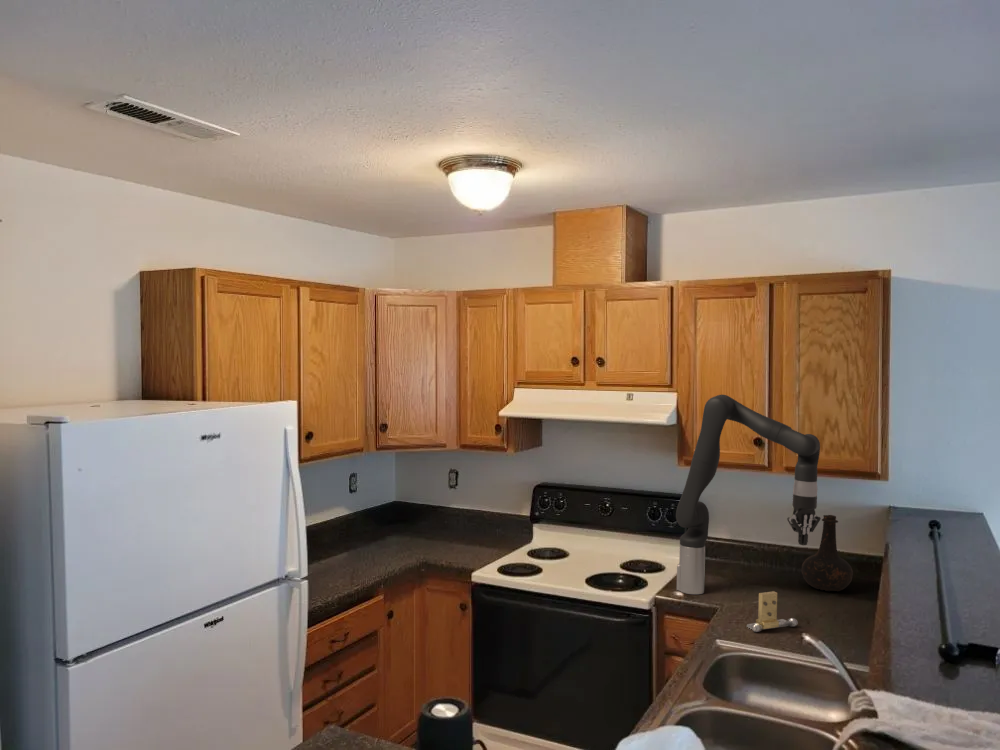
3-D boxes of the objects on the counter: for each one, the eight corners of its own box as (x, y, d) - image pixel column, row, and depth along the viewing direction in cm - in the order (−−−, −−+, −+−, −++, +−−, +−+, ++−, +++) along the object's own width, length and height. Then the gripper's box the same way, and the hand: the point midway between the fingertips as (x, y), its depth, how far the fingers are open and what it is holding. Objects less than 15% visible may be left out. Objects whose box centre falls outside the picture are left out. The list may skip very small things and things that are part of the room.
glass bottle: (793, 587, 285) (795, 514, 285) (813, 578, 298) (814, 508, 297) (841, 599, 272) (843, 522, 272) (859, 589, 285) (861, 516, 284)
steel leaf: (756, 633, 235) (756, 625, 235) (744, 627, 241) (744, 619, 241) (798, 627, 242) (798, 619, 242) (785, 621, 247) (786, 613, 247)
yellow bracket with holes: (763, 628, 236) (764, 595, 236) (755, 625, 239) (756, 592, 239) (778, 626, 238) (779, 593, 238) (770, 622, 242) (771, 590, 241)
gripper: (798, 496, 245) (796, 549, 246) (828, 494, 251) (826, 546, 251) (781, 492, 252) (779, 543, 253) (811, 490, 257) (809, 540, 258)
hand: (802, 544), depth 252 cm, fingers closed
